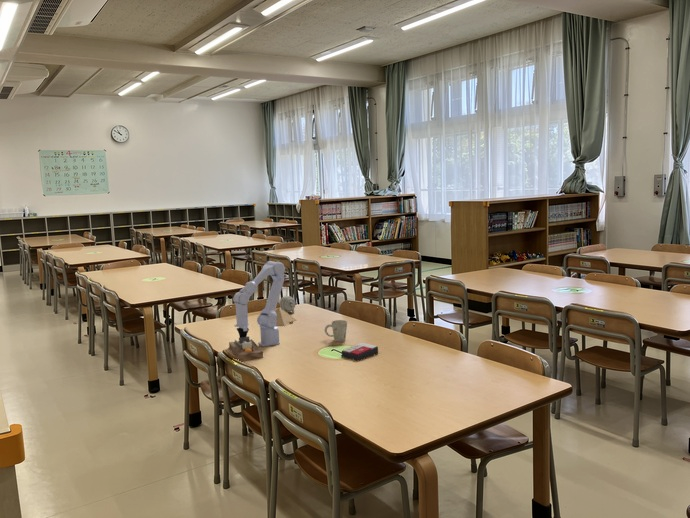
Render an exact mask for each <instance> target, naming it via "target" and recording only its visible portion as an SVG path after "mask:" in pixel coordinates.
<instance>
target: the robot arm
mask: <svg viewBox="0 0 690 518" xmlns="http://www.w3.org/2000/svg"><path fill="white" fill-rule="evenodd" d="M285 272H286V267H285V265H284V263H283V262H281V261H273V260H268V261H267V262H265V263H264V265H263V266H262V269H261V270H260V271H259V273H257V275H256V276H255V277H254V278H253V280H252V281H248V282H247V281H246V283H245V285H244V286H243V287H242V288H241V289H240V290H239V291H238V292H236V293H235V294H234V295H233V297H232V300H233V302H234V304H235V305H234V306H235V317H236V318H235V319H236V321H235V322H236V324H234V325H233V326H234V327H235V328H236V330H237V332H238V336H239V337H247V335H248V332H249V330H250V329H249V318H248V317H249V315H248V314H249V313H248V303H249V302H250V298H251V297H252V295H253V294H254V293H256V291H257V290H258V285H260V284H261V282H263V281H264V280H265V279H266V278H267V277H268V276H271V278H272V283H271V287H270V290H269V294H268V296H267V300H266V304H265V307H264V308H263V309H262V310H261V311H260V313H259V315H258V317H257V319H256V323H257V324H258V325H259V328H260V329H259V331H260V332H259V333H260V341H258V344H259V345H260V346H262V347H268V346H275V345H280V330H279V326H275V325H276V317H277V314H276V312H275V311H276V310H277V306H278V301H279V299H280V295H281V292H282V288H283V286H284V282H285Z"/></svg>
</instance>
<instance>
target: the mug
mask: <svg viewBox="0 0 690 518" xmlns="http://www.w3.org/2000/svg"><path fill="white" fill-rule="evenodd" d="M328 328H332V334H329V332H328V331H327V330H328ZM347 328H348V321H347V320H343V319H336V320H332V321H331V324H326V326H325V327H324V333H325V335H326V336H327V337H331V338H332V337H333V340H334V341H335V342H345V341H346V338H347V337H346V336H347Z"/></svg>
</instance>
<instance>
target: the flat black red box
mask: <svg viewBox="0 0 690 518" xmlns="http://www.w3.org/2000/svg"><path fill="white" fill-rule="evenodd" d="M377 353H378V354H379V347H378V346H377V345H373V344H369V343H364V342H360V343H357V344H354V345H351V346H350V347H346V348H345V349H343V350H341V357H343V358H345V359H349V358H350V360H353V359H354V361H357V360H359V361H361V359H362V360H364V358H365V359H367V358H369V357H372V356H375V355H377ZM374 354H375V355H374ZM366 357H367V358H366Z"/></svg>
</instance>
